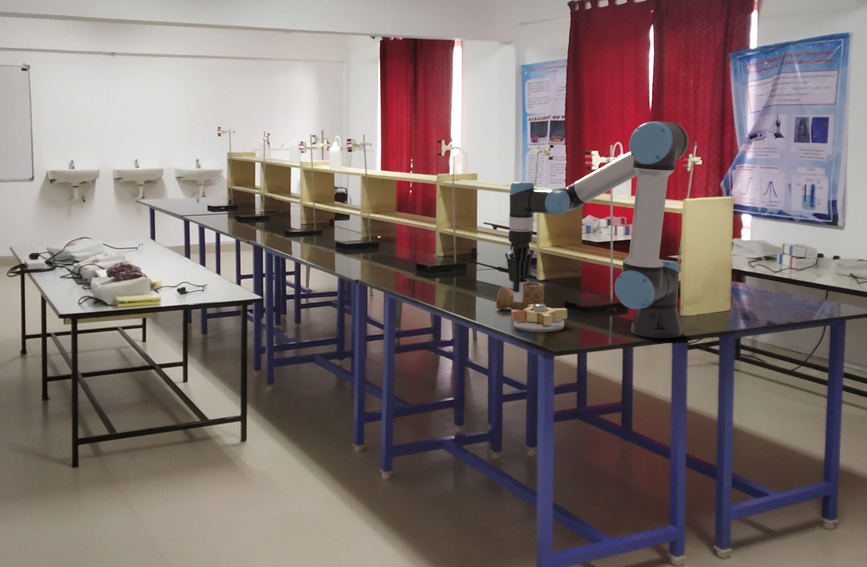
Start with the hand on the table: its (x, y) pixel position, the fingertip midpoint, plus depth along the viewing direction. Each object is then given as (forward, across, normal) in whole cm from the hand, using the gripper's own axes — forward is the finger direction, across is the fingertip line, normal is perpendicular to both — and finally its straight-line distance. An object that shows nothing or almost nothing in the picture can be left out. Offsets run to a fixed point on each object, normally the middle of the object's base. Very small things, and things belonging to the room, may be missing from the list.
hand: (518, 301), depth 278 cm
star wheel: (+5, 0, +8) cm, 10 cm away
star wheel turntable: (+7, 0, +8) cm, 11 cm away
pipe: (+8, -16, -10) cm, 20 cm away
